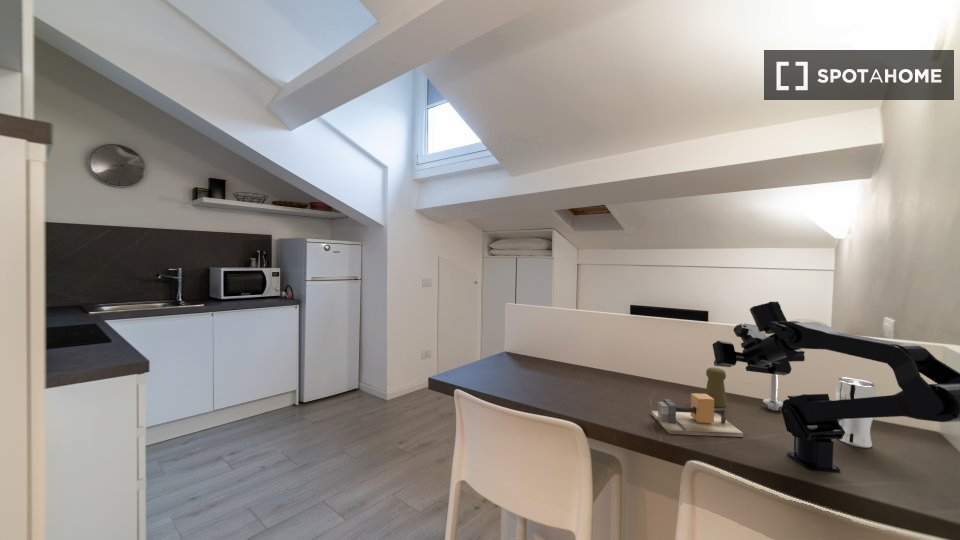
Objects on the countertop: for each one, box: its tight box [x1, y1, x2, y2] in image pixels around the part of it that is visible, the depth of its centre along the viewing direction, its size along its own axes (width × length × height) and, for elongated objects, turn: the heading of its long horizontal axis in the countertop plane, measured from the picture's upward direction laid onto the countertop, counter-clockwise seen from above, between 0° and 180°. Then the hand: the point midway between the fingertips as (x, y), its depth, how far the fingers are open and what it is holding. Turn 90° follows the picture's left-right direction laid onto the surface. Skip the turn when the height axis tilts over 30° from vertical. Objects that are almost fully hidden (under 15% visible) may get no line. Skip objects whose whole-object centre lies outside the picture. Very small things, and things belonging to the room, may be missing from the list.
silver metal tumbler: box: [835, 377, 877, 449], centre depth 90 cm, size 7×7×15 cm
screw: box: [762, 374, 783, 412], centre depth 110 cm, size 13×5×5 cm
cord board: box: [650, 398, 744, 438], centre depth 99 cm, size 12×18×6 cm, turn 85°
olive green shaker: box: [704, 367, 728, 408], centre depth 114 cm, size 6×6×11 cm
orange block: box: [690, 392, 715, 423], centre depth 99 cm, size 4×4×6 cm
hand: (730, 366), depth 104 cm, fingers open, 9 cm apart
